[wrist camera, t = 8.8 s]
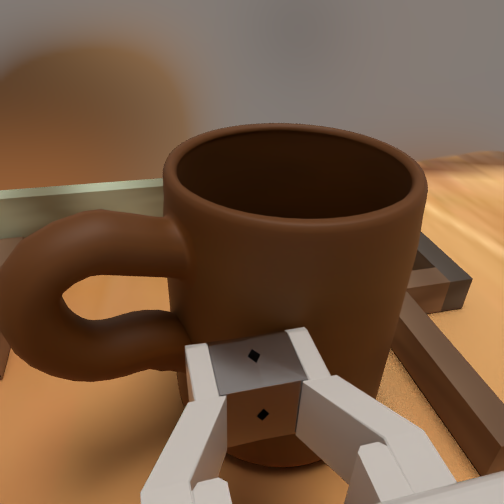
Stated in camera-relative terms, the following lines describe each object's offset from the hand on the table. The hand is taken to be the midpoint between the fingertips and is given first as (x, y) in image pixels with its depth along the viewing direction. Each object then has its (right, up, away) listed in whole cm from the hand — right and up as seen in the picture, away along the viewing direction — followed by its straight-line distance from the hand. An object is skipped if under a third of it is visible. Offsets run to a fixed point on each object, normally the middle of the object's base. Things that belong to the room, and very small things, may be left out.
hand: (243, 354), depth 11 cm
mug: (-1, -4, +6) cm, 7 cm away
